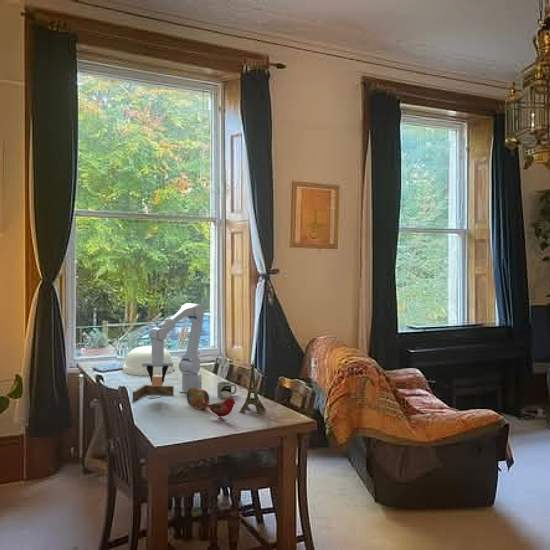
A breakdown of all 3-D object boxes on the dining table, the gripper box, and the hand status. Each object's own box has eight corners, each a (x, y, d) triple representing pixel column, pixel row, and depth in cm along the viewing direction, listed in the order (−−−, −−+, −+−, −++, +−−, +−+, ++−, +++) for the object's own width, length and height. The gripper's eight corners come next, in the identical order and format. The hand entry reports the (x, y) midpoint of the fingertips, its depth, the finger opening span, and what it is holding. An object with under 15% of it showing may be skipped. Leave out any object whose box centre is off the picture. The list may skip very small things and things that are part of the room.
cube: (162, 384, 265) (163, 374, 264) (161, 386, 260) (161, 376, 260) (153, 384, 264) (153, 374, 264) (151, 386, 260) (152, 376, 260)
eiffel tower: (238, 413, 241) (238, 356, 240) (242, 407, 251) (243, 352, 250) (262, 415, 239) (262, 357, 239) (265, 408, 250) (266, 353, 249)
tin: (186, 404, 255) (186, 386, 255) (192, 403, 257) (192, 385, 257) (204, 411, 244) (204, 392, 243) (210, 410, 246) (210, 391, 245)
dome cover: (131, 364, 346) (131, 342, 346) (179, 365, 346) (179, 343, 345) (115, 375, 314) (115, 350, 314) (168, 376, 314) (168, 351, 313)
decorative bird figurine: (233, 423, 226) (234, 399, 226) (198, 417, 235) (198, 393, 235) (237, 421, 229) (237, 397, 229) (202, 415, 237) (202, 392, 237)
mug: (221, 399, 265) (221, 385, 264) (215, 396, 270) (215, 382, 270) (239, 396, 270) (239, 383, 270) (233, 393, 276) (233, 380, 275)
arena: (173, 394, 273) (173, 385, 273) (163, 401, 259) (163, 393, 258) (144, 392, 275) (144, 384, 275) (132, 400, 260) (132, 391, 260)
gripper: (140, 354, 257) (140, 383, 258) (172, 354, 258) (172, 383, 259) (143, 352, 264) (142, 380, 265) (173, 352, 265) (173, 380, 266)
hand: (157, 381), depth 262 cm, fingers closed on cube, 4 cm apart
